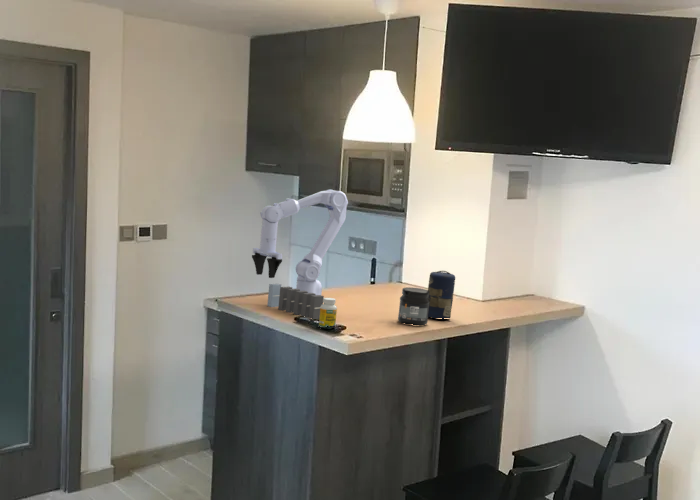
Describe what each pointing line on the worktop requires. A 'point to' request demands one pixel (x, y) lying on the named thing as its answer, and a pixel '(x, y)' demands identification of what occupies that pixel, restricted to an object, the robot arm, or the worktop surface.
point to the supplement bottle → (328, 312)
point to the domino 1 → (273, 295)
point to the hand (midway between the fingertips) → (265, 276)
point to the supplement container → (414, 306)
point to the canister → (440, 294)
